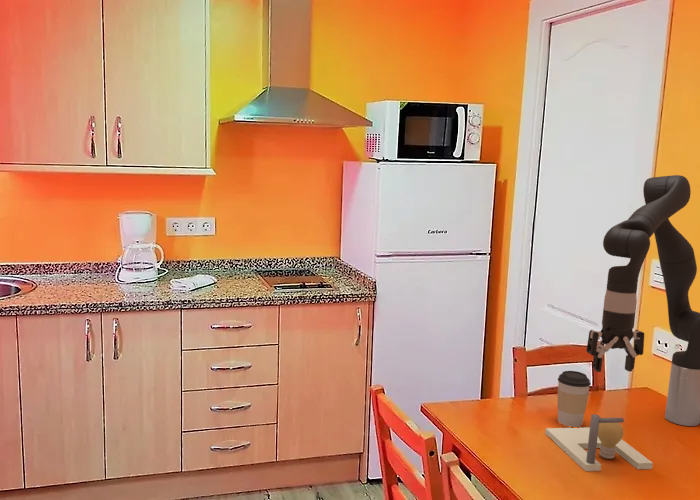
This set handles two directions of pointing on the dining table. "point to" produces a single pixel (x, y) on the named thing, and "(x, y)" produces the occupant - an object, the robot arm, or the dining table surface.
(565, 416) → the coffee cup
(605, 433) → the light bulb
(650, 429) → the dining table surface
